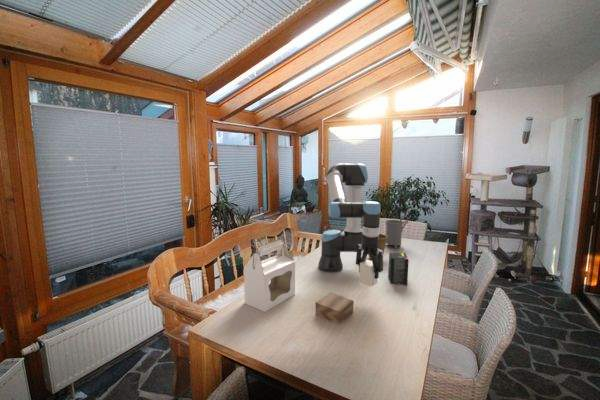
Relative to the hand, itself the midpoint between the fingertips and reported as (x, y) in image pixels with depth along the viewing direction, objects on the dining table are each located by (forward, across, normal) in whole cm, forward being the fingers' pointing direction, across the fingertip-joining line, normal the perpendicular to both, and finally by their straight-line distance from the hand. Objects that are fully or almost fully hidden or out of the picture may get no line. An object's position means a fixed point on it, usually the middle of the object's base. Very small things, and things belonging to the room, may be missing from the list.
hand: (368, 281), depth 137 cm
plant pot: (+11, -29, +54) cm, 63 cm away
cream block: (0, 0, 0) cm, 0 cm away
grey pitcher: (+12, -34, +90) cm, 98 cm away
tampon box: (+10, -1, +32) cm, 34 cm away
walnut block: (+10, -3, -21) cm, 23 cm away
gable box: (+10, -33, -33) cm, 48 cm away
